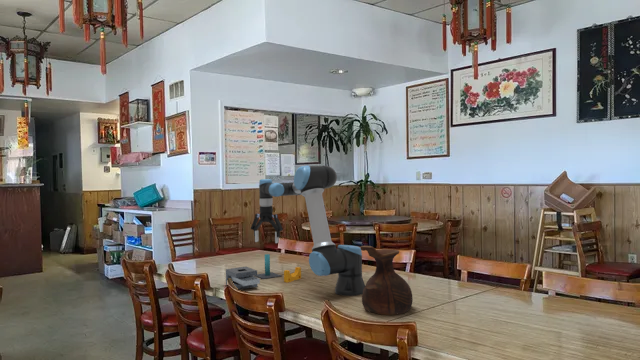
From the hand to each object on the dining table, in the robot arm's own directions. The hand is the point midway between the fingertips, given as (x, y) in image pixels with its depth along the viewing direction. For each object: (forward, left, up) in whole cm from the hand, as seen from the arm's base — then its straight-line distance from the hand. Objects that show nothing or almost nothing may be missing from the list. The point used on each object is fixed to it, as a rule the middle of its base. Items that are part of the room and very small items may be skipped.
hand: (266, 242), depth 284 cm
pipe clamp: (-18, -6, -20) cm, 27 cm away
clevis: (-14, +22, -20) cm, 33 cm away
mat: (0, 0, -20) cm, 20 cm away
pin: (0, 0, -19) cm, 19 cm away
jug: (-97, -7, -20) cm, 100 cm away
